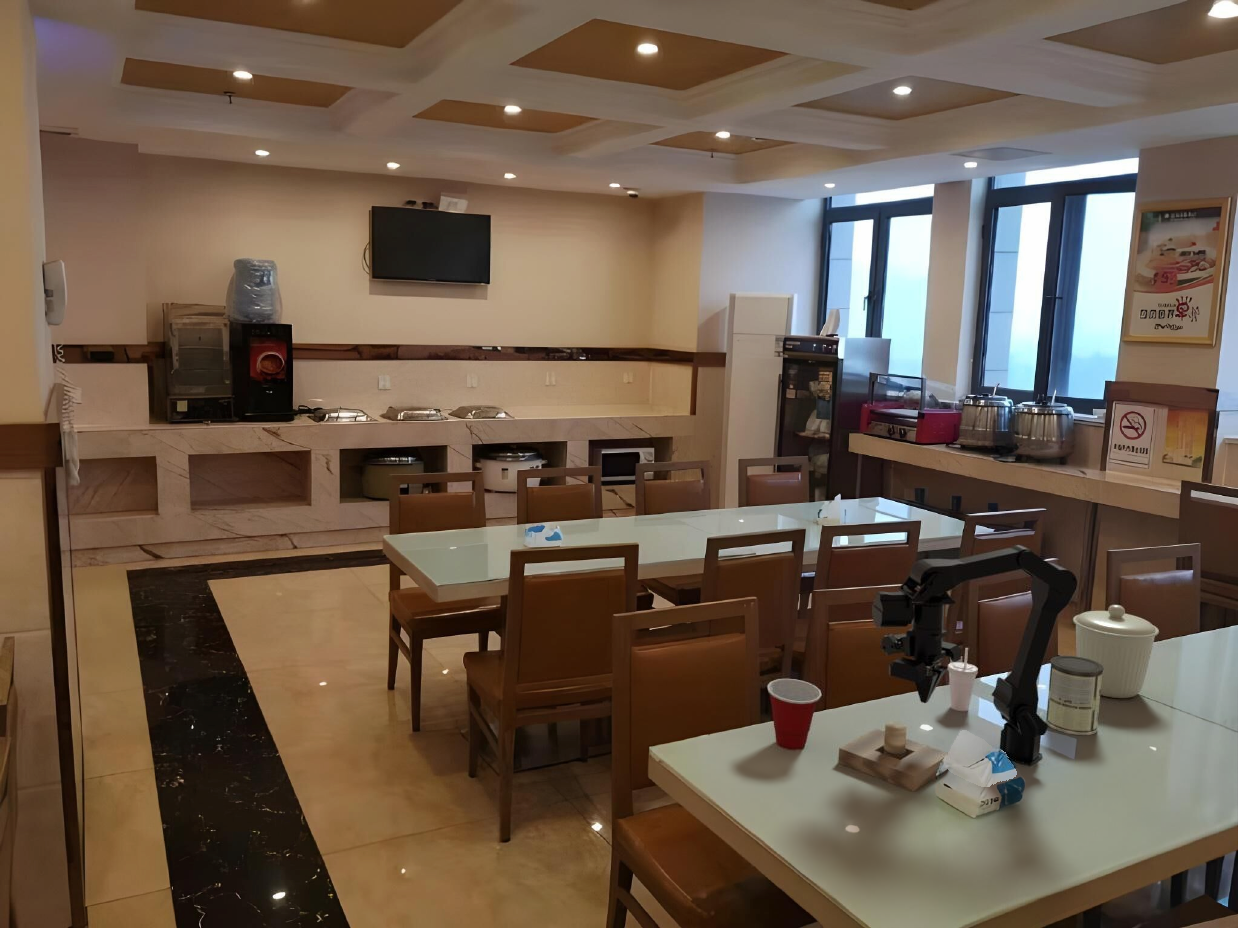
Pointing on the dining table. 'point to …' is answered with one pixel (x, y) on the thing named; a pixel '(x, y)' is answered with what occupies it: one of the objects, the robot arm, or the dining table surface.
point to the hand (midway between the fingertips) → (924, 702)
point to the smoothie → (961, 683)
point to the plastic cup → (792, 711)
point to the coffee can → (1074, 695)
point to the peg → (895, 740)
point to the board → (892, 760)
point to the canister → (1116, 648)
